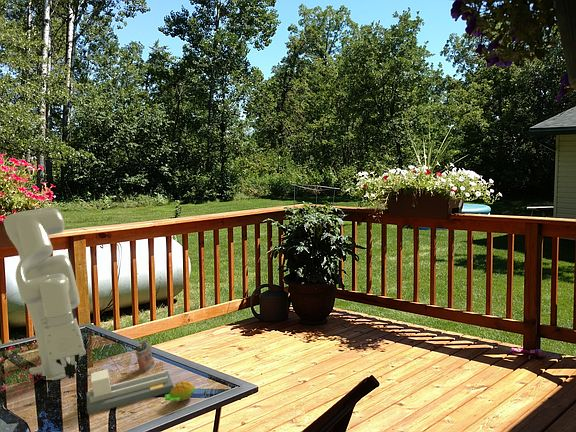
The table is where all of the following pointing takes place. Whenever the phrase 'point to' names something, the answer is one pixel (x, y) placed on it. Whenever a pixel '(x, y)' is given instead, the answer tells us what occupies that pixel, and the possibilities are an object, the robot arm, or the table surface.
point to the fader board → (130, 392)
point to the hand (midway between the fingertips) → (71, 376)
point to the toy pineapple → (180, 391)
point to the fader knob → (100, 383)
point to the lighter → (144, 356)
